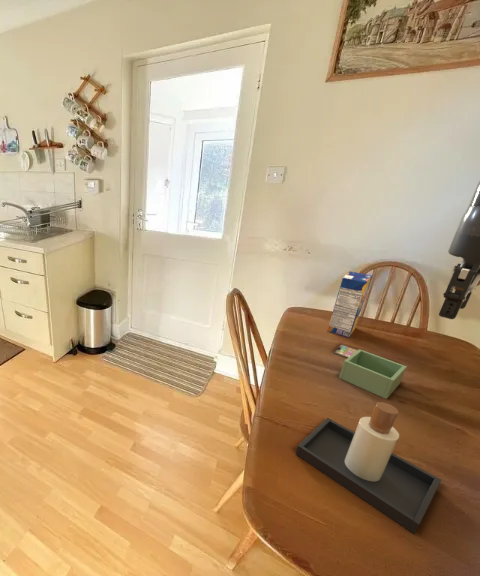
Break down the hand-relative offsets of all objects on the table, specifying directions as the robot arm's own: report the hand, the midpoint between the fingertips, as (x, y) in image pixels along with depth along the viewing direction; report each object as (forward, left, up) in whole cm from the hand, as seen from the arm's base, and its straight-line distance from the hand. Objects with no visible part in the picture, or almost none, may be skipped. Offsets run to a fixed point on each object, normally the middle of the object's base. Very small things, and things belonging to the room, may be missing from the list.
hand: (451, 312), depth 63 cm
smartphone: (+16, -30, -32) cm, 47 cm away
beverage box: (+29, -48, -32) cm, 65 cm away
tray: (+1, +19, -32) cm, 37 cm away
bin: (+11, -17, -32) cm, 38 cm away
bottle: (+1, +19, -32) cm, 37 cm away
